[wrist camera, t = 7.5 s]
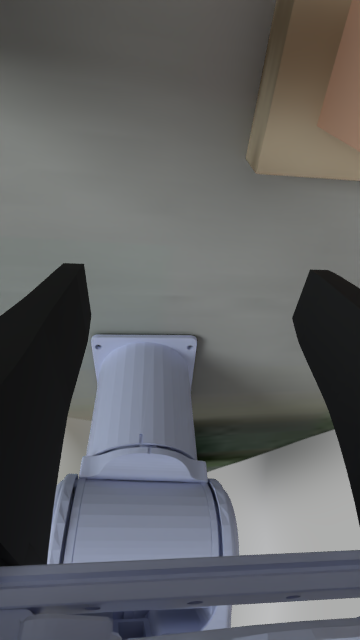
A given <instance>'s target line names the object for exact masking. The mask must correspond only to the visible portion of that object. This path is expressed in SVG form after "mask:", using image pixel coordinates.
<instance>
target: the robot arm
mask: <svg viewBox="0 0 360 640" xmlns="http://www.w3.org/2000/svg"><path fill="white" fill-rule="evenodd" d="M292 319H293V323H294V327H295V331H296V334H297V338H298V341H299V344H300V347H301V349H302V351H303V353H304V356H305V358H306V360H307V363H308V365H309V367H310V369H311V371H312V374H313V376H314V378H315V380H316V382H317V385H318V387H319V389H320V391H321V393H322V396H323V398H324V400H325V403H326V405H327V408H328V410H329V413H330V416H331V419H332V422H333V425H334V428H335V432H336V435H337V438H338V441H339V444H340V448H341V452H342V455H343V458H344V462H345V465H346V469H347V473H348V477H349V481H350V485H351V489H352V493H353V497H354V501H355V506H356V511H357V515H358V520H359V525H360V289H359V288H358V287H356V286H355V285H353V284H352V283H350V282H348V281H347V280H345V279H344V278H342V277H340V276H338V275H337V274H335V273H333V272H331V271H329V270H310V271H309V274H308V277H307V280H306V282H305V285H304V288H303V290H302V293H301V296H300V298H299V301H298V304H297V307H296V309H295V312H294V315H293V317H292ZM90 321H91V310H90V303H89V296H88V289H87V282H86V275H85V268H84V264H69V263H63V264H62V265H61V266H60V267H59V268H57V269H56V270H55V271H54V272H53V273H52V274H51V275H50V276H49V277H47V278H46V279H45V280H44V281H43V282H42V283H41V284H40V285H38V286H37V287H36V288H35V289H34V290H33V291H31V292H30V293H29V294H28V295H27V296H26V297H24V298H23V299H22V300H21V301H19V302H18V303H17V304H15V305H14V306H13V307H12V308H10V309H9V310H8V311H6V312H5V313H4V314H3V315H1V316H0V640H360V617H357V618H346V619H331V620H315V621H300V622H287V623H276V624H265V625H252V626H242V627H233V628H231V610H232V605H238V604H255V603H272V602H290V601H307V600H324V599H342V598H358V597H360V550H351V551H328V552H309V553H308V552H307V553H285V554H265V555H241V556H239V542H238V532H237V524H236V518H235V514H234V510H233V506H232V503H231V500H230V498H229V496H228V494H227V493H226V492H225V490H224V489H223V487H222V485H221V484H220V483H219V482H218V481H217V480H216V479H207V470H206V462H204V461H197V455H196V444H195V434H194V423H193V413H192V402H191V385H192V378H193V370H194V363H195V355H196V348H197V338H196V337H195V336H192V335H102V334H97V335H94V336H93V337H92V339H91V345H92V351H93V358H94V364H95V371H96V377H97V384H98V387H97V393H96V399H95V405H94V411H93V418H92V424H91V430H90V436H89V442H88V448H87V454H86V456H83V458H82V463H81V468H80V474H79V480H78V474H68V475H66V477H65V478H64V480H62V481H61V482H60V483H59V484H58V485H57V478H58V471H59V465H60V459H61V452H62V445H63V439H64V434H65V428H66V421H67V416H68V411H69V407H70V403H71V399H72V395H73V392H74V388H75V385H76V381H77V378H78V374H79V371H80V367H81V364H82V360H83V357H84V353H85V349H86V346H87V342H88V336H89V329H90ZM97 345H101V346H97ZM190 345H191V346H190ZM189 346H190V347H189Z"/></svg>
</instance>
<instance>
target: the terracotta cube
mask: <svg viewBox="0 0 360 640" xmlns="http://www.w3.org/2000/svg"><path fill="white" fill-rule="evenodd" d="M317 126H318V127H319V128H321V129H323V130H324V131H326V132H328V133H329V134H331V135H333V136H334V137H336V138H338V139H339V140H341V141H343V142H344V143H346V144H348V145H349V146H351V147H353V148H354V149H356V150H358V151H359V152H360V0H352V2H351V6H350V9H349V13H348V16H347V20H346V23H345V27H344V31H343V34H342V38H341V41H340V45H339V48H338V52H337V56H336V59H335V63H334V66H333V70H332V73H331V77H330V81H329V84H328V88H327V91H326V95H325V98H324V102H323V106H322V109H321V113H320V116H319V120H318V123H317Z"/></svg>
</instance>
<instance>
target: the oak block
mask: <svg viewBox="0 0 360 640" xmlns="http://www.w3.org/2000/svg"><path fill="white" fill-rule="evenodd" d="M351 2H352V0H276V5H275V10H274V15H273V20H272V26H271V31H270V36H269V41H268V46H267V51H266V56H265V62H264V67H263V72H262V77H261V82H260V87H259V92H258V98H257V103H256V108H255V113H254V118H253V123H252V128H251V134H250V139H249V144H248V149H247V154H246V160H247V161H248V163H249V164H250V166H251V167H252V168H253V170H254V171H255V173H256V174H266V175H281V176H295V177H310V178H325V179H339V180H354V181H360V152H359V151H358V150H356V149H354V148H353V147H351V146H349V145H348V144H346V143H344V142H343V141H341V140H339V139H338V138H336V137H334V136H333V135H331V134H329V133H328V132H326V131H324V130H323V129H321V128H319V127H318V126H317V123H318V120H319V116H320V113H321V109H322V106H323V102H324V98H325V95H326V91H327V88H328V84H329V81H330V77H331V73H332V70H333V66H334V63H335V59H336V56H337V52H338V48H339V45H340V41H341V38H342V34H343V31H344V27H345V23H346V20H347V16H348V13H349V9H350V6H351Z"/></svg>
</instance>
